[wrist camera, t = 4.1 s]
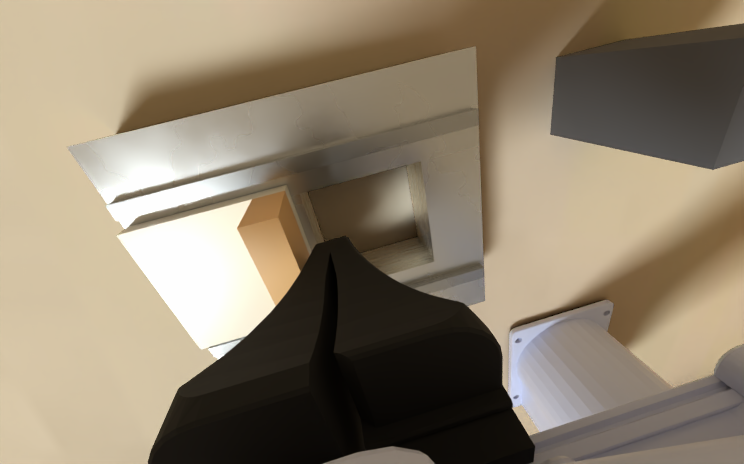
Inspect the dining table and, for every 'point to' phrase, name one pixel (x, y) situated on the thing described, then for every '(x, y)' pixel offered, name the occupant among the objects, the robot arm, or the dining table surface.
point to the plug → (657, 96)
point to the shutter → (223, 262)
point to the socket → (324, 163)
